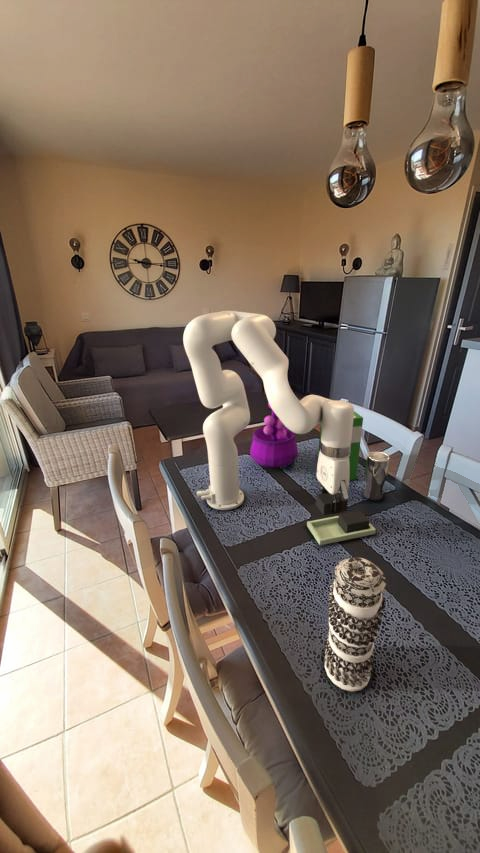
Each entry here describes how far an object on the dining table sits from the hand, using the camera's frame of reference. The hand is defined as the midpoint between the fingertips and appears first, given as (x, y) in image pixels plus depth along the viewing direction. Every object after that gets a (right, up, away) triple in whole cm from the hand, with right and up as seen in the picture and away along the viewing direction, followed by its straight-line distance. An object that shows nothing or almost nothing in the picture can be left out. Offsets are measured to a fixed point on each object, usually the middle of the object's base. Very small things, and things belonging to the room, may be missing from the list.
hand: (331, 506), depth 100 cm
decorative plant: (-12, +8, +44) cm, 46 cm away
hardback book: (+12, +6, +38) cm, 40 cm away
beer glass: (+19, -1, +20) cm, 28 cm away
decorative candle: (-5, -24, -31) cm, 40 cm away
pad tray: (+4, -8, +5) cm, 10 cm away
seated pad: (+8, -7, +5) cm, 12 cm away
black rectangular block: (0, -1, 0) cm, 1 cm away
